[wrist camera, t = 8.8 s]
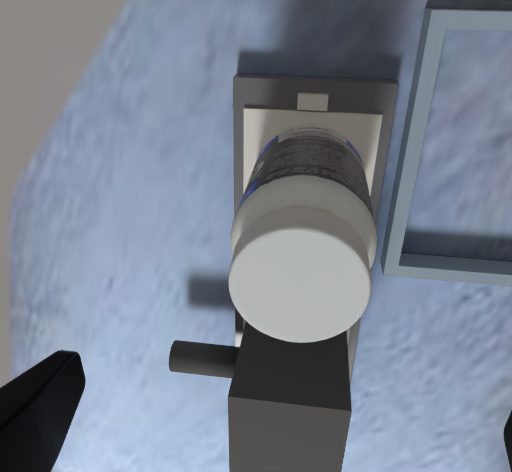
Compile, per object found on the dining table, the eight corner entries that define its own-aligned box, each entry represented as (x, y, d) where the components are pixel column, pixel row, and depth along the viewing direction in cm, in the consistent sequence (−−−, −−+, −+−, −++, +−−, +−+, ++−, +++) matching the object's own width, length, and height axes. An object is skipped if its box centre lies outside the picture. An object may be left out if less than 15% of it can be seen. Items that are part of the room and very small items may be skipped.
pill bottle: (248, 126, 19) (200, 215, 12) (364, 118, 18) (389, 207, 11) (260, 226, 21) (225, 353, 14) (363, 223, 20) (384, 356, 13)
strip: (395, 79, 18) (399, 85, 17) (345, 393, 27) (346, 409, 26) (236, 73, 19) (231, 78, 18) (238, 381, 28) (235, 395, 27)
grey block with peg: (345, 315, 23) (351, 411, 18) (335, 385, 26) (338, 486, 20) (179, 299, 24) (138, 385, 19) (184, 367, 27) (150, 460, 21)
